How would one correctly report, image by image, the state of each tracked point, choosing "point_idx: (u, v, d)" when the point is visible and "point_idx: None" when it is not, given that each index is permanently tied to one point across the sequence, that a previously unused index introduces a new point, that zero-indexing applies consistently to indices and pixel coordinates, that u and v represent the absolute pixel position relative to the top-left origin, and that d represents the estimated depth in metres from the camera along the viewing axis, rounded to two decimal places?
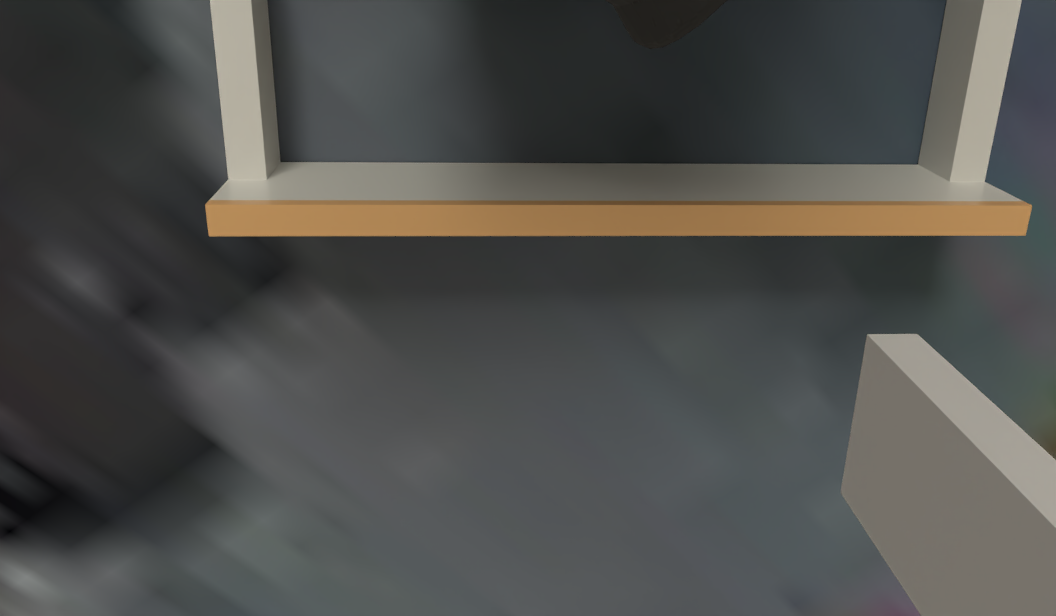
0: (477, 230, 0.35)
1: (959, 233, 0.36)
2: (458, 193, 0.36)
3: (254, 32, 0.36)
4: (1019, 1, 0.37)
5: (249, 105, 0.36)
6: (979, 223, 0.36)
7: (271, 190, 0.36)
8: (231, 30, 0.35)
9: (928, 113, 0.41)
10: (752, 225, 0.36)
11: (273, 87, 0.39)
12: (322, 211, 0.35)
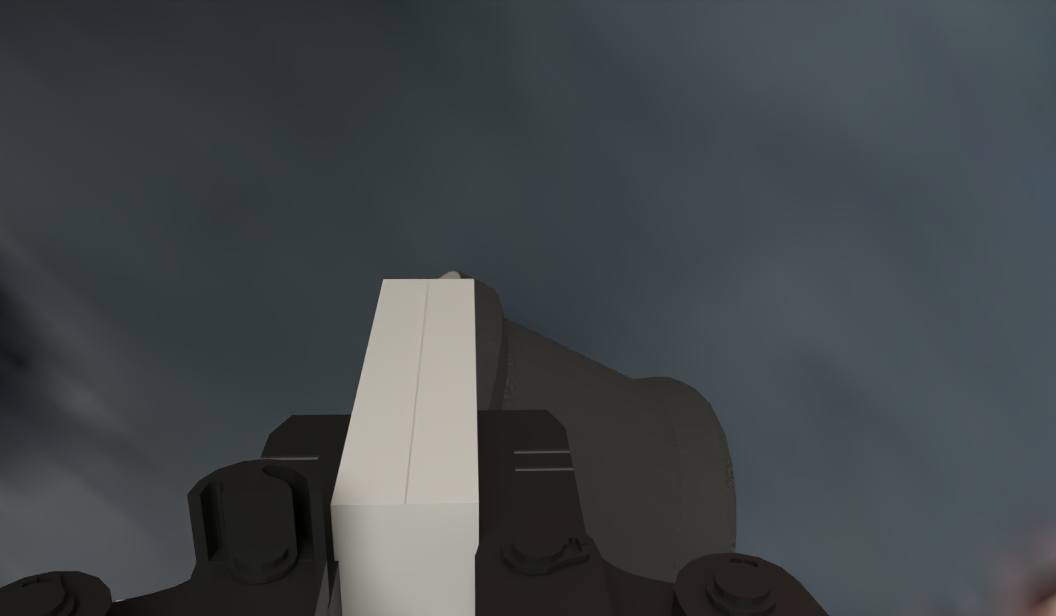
0: None
1: None
2: None
3: None
4: None
5: None
6: None
7: None
8: None
9: None
10: None
11: None
12: None
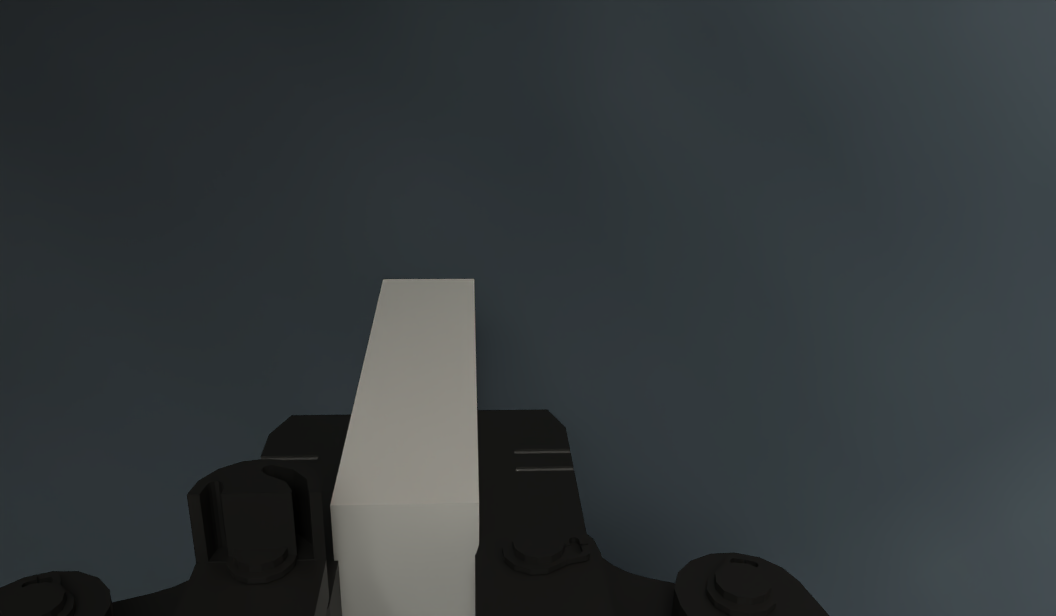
0: None
1: None
2: None
3: None
4: None
5: None
6: None
7: None
8: None
9: None
10: None
11: None
12: None
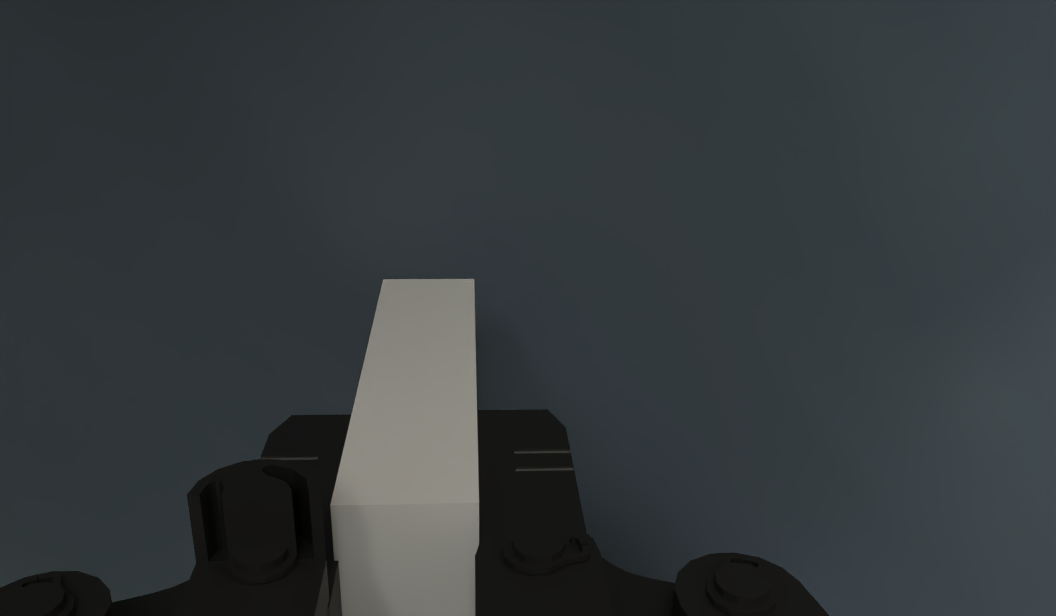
0: None
1: None
2: None
3: None
4: None
5: None
6: None
7: None
8: None
9: None
10: None
11: None
12: None
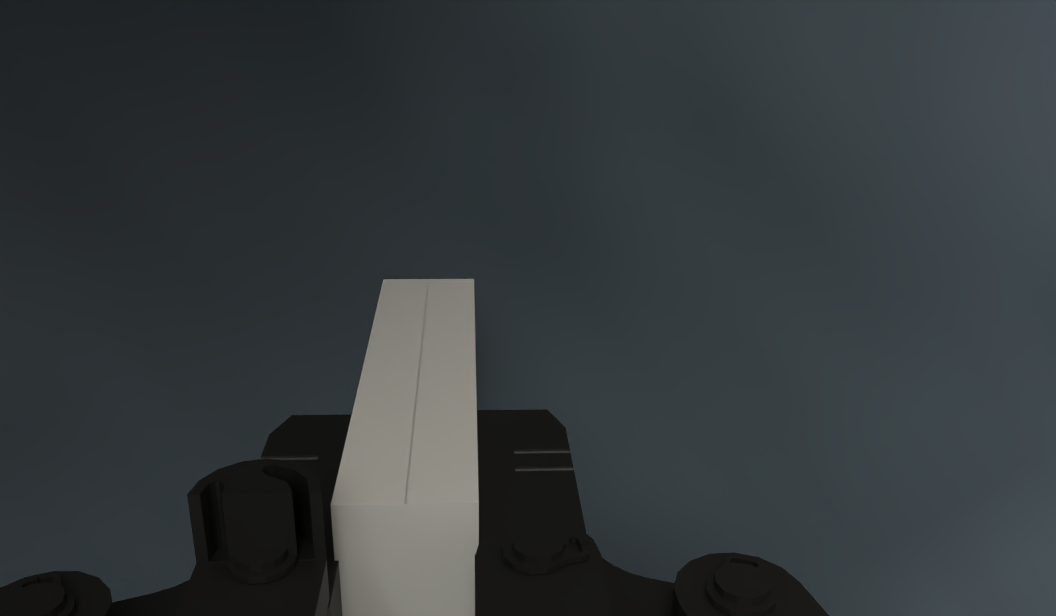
0: None
1: None
2: None
3: None
4: None
5: None
6: None
7: None
8: None
9: None
10: None
11: None
12: None
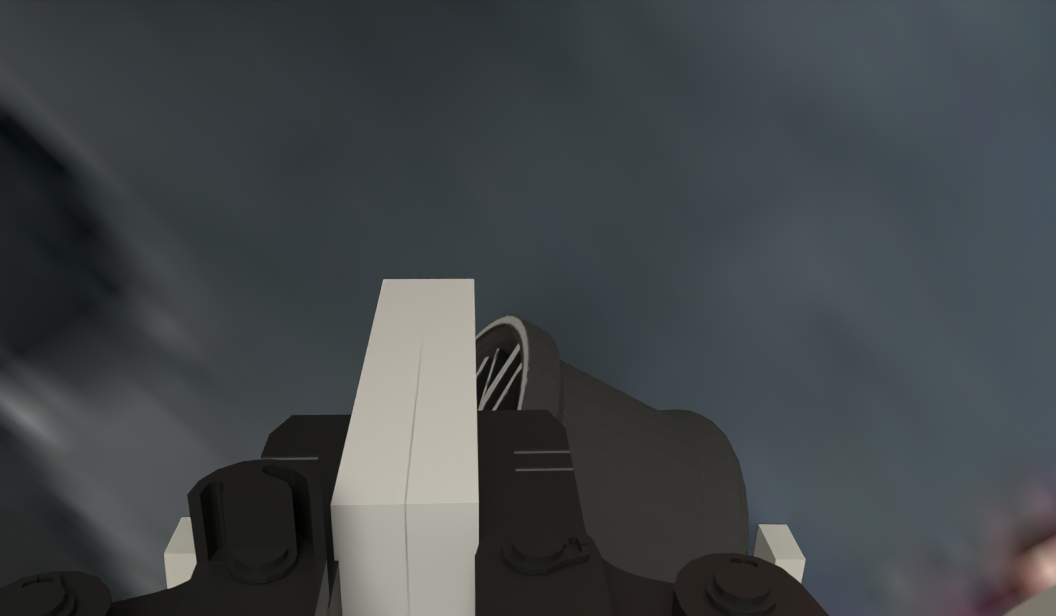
0: None
1: None
2: None
3: None
4: None
5: None
6: None
7: None
8: None
9: None
10: None
11: None
12: None
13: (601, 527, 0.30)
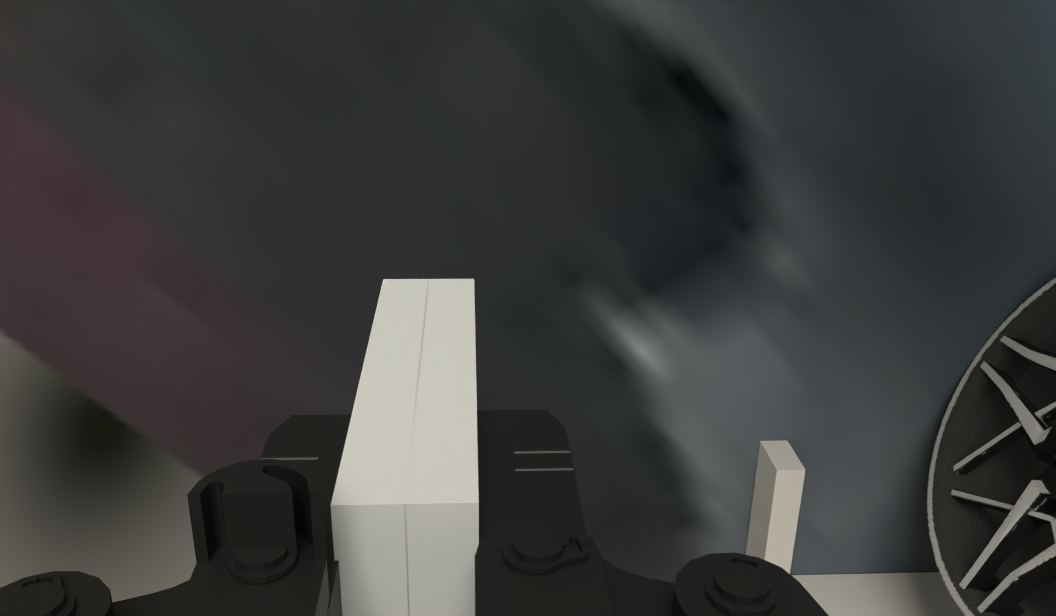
0: None
1: None
2: None
3: None
4: None
5: (783, 567, 0.51)
6: None
7: None
8: (782, 523, 0.50)
9: None
10: None
11: None
12: None
13: None
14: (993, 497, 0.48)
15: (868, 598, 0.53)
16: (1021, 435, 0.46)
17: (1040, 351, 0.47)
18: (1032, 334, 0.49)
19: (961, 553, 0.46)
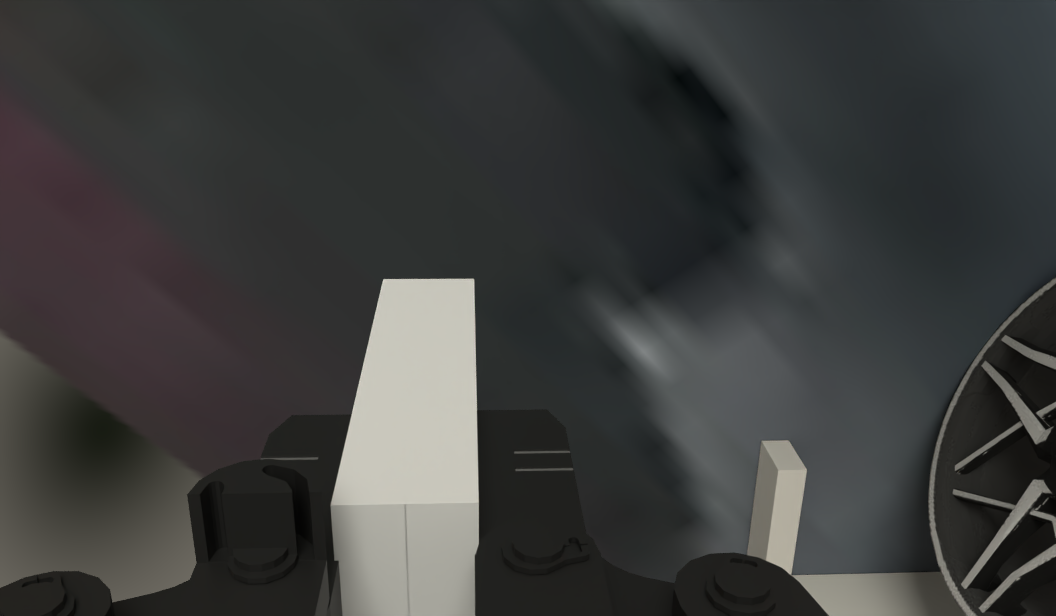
0: None
1: None
2: None
3: None
4: None
5: (784, 567, 0.51)
6: None
7: None
8: (783, 523, 0.50)
9: None
10: None
11: None
12: None
13: None
14: (994, 497, 0.48)
15: (870, 598, 0.53)
16: (1022, 435, 0.46)
17: (1041, 351, 0.47)
18: (1033, 333, 0.49)
19: (963, 552, 0.46)
